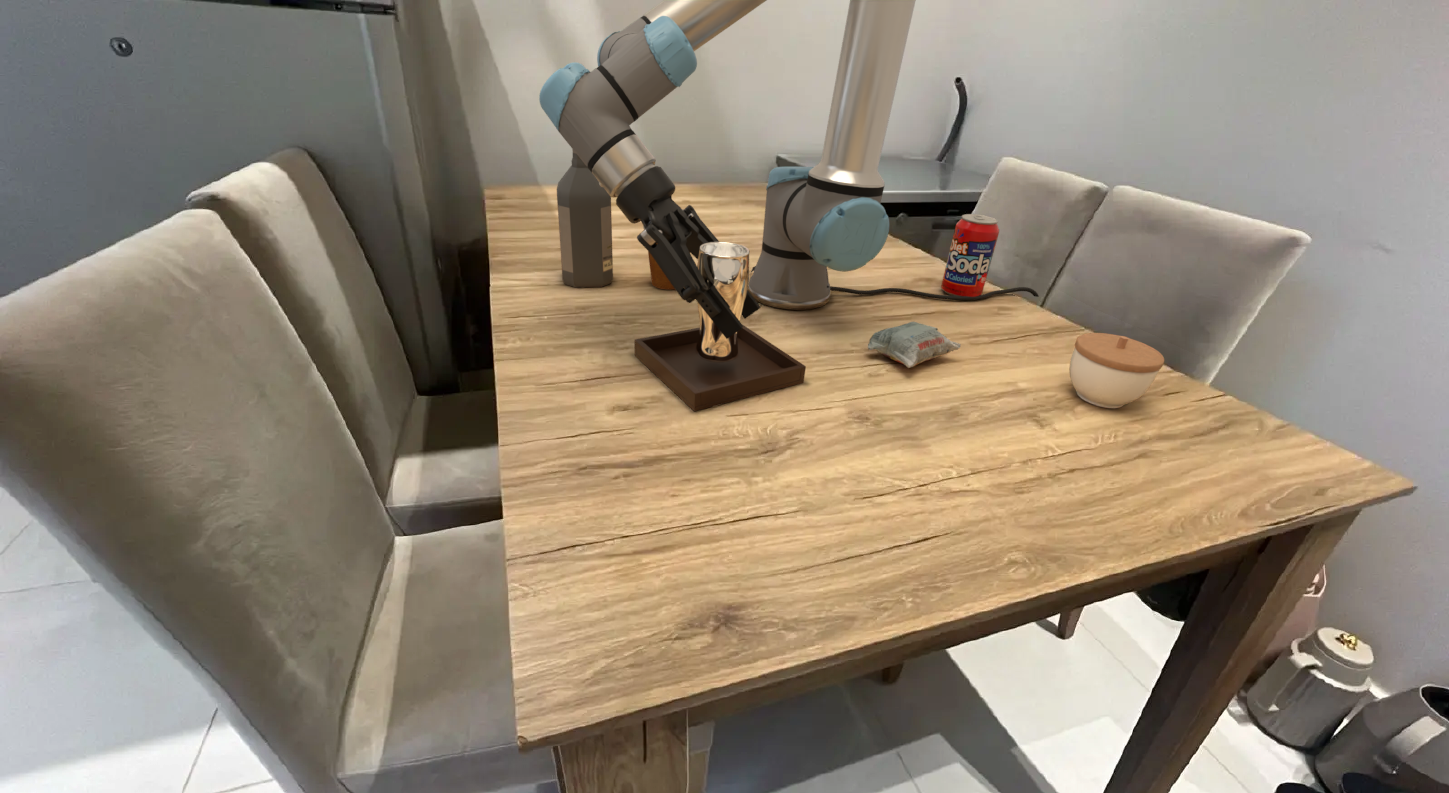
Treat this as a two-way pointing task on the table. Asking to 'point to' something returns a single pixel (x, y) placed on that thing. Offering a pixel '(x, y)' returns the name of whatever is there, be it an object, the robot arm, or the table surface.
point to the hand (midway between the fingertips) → (744, 322)
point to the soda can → (970, 255)
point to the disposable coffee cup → (658, 275)
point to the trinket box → (1112, 369)
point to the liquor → (584, 228)
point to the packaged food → (911, 343)
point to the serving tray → (718, 368)
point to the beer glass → (722, 296)
